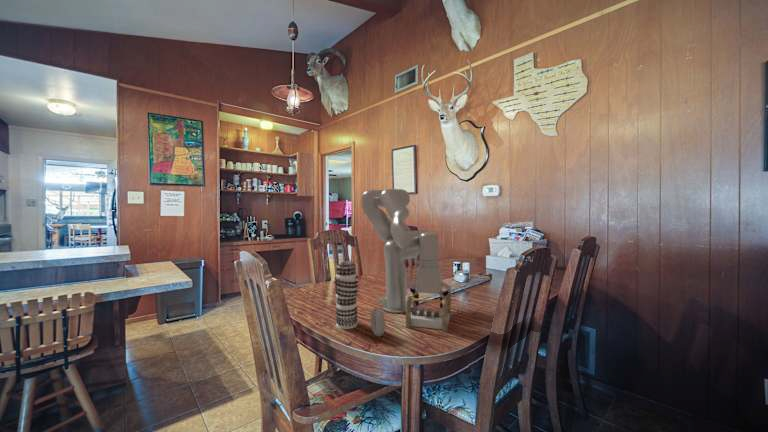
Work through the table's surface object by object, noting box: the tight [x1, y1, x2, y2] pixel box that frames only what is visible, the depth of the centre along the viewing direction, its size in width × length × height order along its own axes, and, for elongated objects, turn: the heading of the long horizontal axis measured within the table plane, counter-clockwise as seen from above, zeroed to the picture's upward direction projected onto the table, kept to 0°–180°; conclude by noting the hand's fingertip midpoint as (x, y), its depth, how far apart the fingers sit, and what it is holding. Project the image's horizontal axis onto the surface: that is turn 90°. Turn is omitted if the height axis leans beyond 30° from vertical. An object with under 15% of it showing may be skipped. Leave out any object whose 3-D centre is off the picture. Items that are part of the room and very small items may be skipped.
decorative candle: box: [334, 260, 359, 330], centre depth 121 cm, size 9×9×25 cm
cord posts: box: [405, 286, 452, 333], centre depth 122 cm, size 16×15×12 cm
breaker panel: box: [411, 307, 450, 330], centre depth 122 cm, size 15×10×5 cm, turn 73°
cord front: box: [410, 297, 443, 304], centre depth 116 cm, size 13×1×1 cm, turn 73°
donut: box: [370, 307, 386, 337], centre depth 111 cm, size 10×4×10 cm, turn 19°
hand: (429, 305), depth 122 cm, fingers open, 9 cm apart
